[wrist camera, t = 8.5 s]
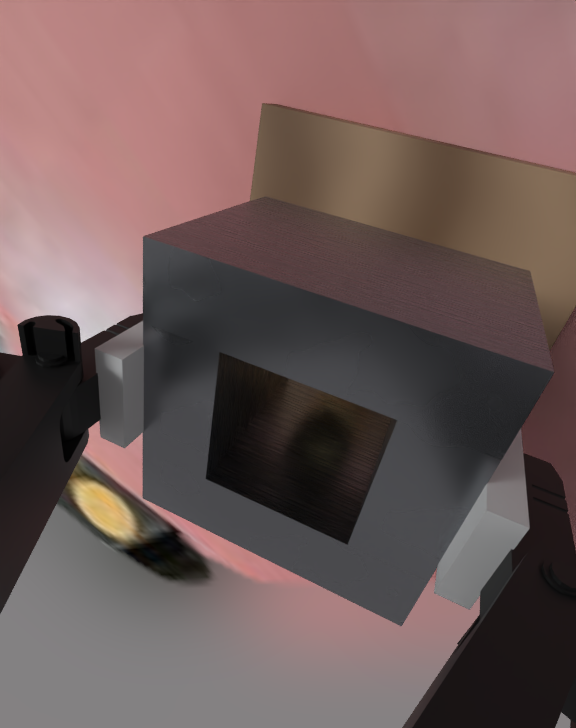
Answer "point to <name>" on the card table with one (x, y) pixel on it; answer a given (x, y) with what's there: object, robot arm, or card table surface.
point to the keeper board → (428, 195)
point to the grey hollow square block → (331, 390)
